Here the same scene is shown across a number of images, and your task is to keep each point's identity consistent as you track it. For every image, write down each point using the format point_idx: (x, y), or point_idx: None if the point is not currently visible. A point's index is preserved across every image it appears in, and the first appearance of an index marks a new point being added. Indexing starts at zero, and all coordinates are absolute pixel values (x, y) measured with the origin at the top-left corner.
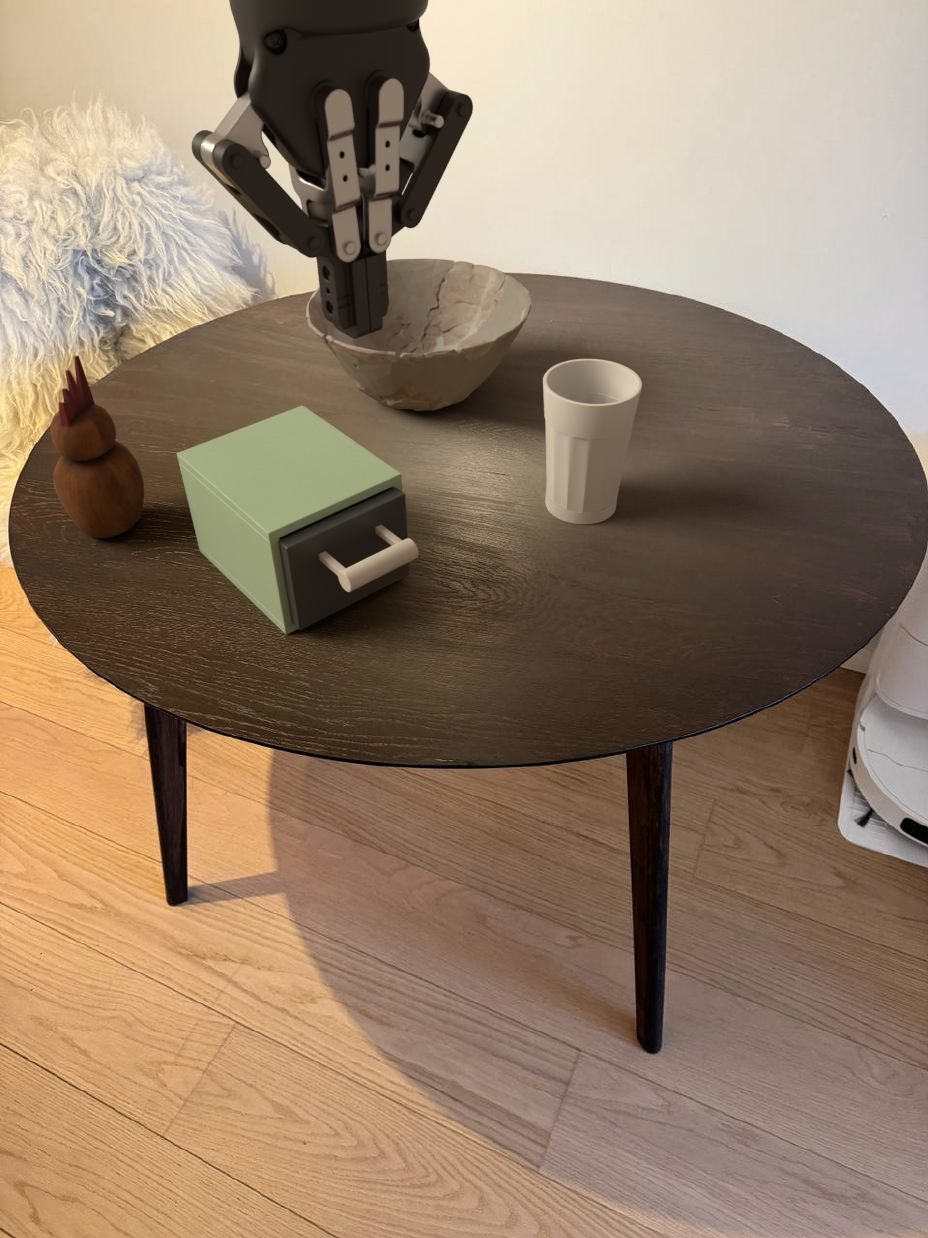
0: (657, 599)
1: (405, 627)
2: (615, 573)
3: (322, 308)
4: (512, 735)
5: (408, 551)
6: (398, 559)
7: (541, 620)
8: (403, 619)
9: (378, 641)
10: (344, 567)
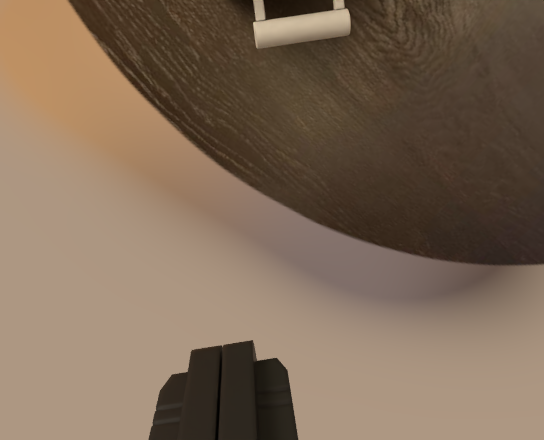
0: (524, 134)
1: None
2: (524, 82)
3: (160, 395)
4: (317, 200)
5: (337, 33)
6: (322, 37)
7: (422, 100)
8: None
9: None
10: (264, 16)
